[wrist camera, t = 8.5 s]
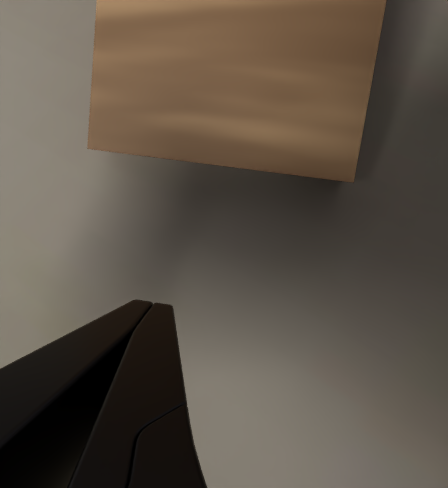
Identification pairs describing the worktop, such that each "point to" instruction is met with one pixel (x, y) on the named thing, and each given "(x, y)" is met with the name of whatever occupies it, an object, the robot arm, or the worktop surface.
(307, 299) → the worktop surface
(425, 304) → the worktop surface
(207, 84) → the domino
